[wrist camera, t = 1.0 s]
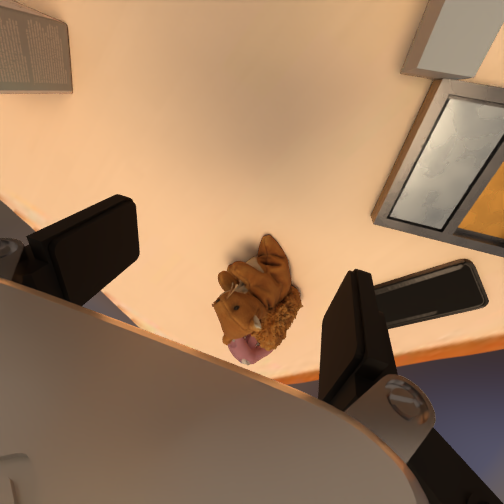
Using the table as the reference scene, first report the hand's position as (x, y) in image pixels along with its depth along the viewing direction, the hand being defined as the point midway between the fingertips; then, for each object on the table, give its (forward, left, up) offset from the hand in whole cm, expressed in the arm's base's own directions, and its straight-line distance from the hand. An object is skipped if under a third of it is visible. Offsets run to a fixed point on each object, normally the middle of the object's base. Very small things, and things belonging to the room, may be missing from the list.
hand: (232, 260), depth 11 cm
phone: (+15, +21, -24) cm, 35 cm away
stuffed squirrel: (+19, +1, -24) cm, 30 cm away
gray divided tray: (-2, +22, -23) cm, 32 cm away
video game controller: (+32, 0, -24) cm, 40 cm away
